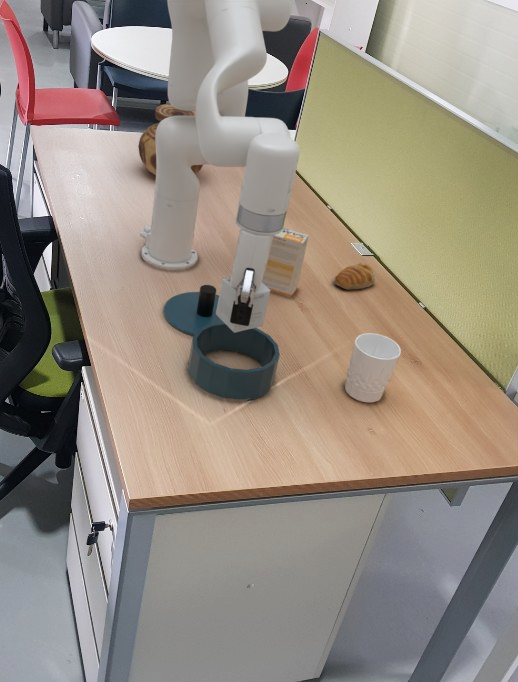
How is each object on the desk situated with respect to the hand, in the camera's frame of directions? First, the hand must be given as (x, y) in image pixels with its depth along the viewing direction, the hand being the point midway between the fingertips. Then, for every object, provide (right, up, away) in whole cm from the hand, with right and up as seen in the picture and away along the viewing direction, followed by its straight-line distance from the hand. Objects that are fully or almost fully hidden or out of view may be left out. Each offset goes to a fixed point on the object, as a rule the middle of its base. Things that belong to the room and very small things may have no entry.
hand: (242, 309), depth 126 cm
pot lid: (-6, 0, +22) cm, 22 cm away
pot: (-1, -11, +7) cm, 14 cm away
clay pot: (-13, +43, +82) cm, 93 cm away
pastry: (+29, +8, +41) cm, 51 cm away
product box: (0, -2, +2) cm, 3 cm away
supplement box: (+10, +7, +35) cm, 37 cm away
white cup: (+22, -14, +8) cm, 28 cm away
